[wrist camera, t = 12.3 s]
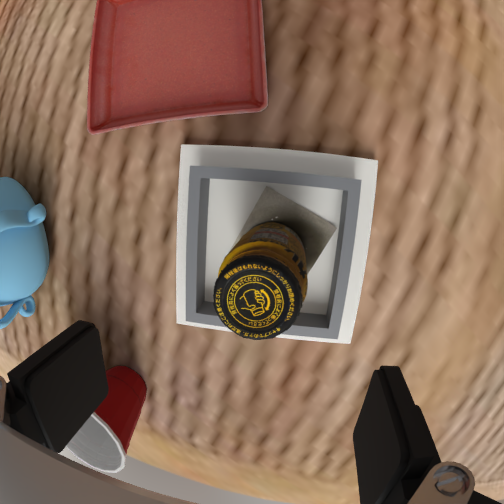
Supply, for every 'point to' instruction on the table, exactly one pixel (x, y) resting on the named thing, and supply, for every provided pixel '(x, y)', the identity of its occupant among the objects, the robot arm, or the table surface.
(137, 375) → the plastic cup
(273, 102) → the table surface
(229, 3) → the plant saucer
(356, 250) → the holder
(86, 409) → the robot arm
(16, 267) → the decorative pot
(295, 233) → the condiment
